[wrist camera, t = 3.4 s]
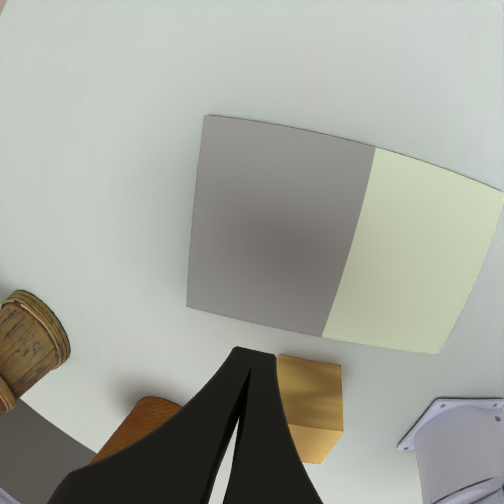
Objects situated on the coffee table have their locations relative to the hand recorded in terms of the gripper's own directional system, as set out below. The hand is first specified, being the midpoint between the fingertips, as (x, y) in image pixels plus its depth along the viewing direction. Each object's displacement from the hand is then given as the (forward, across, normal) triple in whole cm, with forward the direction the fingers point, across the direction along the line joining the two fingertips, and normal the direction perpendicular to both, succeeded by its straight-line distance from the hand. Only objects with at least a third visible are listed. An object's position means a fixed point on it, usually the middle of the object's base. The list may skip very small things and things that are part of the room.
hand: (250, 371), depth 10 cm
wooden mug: (+10, +24, +13) cm, 29 cm away
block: (+10, -4, +10) cm, 14 cm away
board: (+9, -4, -1) cm, 10 cm away
